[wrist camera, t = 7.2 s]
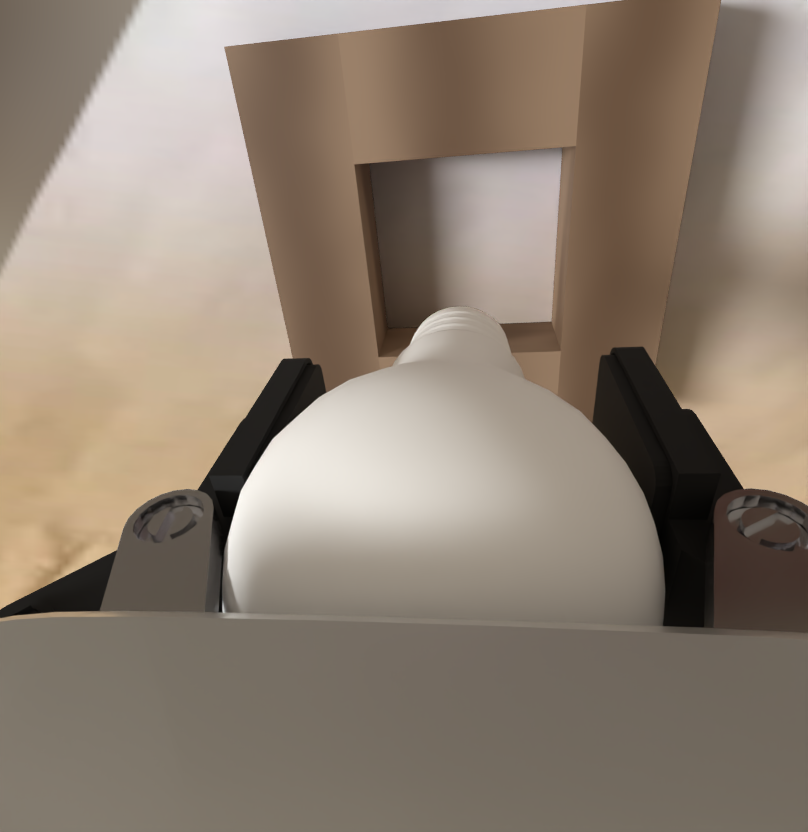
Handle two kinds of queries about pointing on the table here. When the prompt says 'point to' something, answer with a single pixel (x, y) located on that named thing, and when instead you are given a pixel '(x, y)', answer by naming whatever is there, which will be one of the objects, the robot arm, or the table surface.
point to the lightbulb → (445, 499)
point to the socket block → (479, 134)
